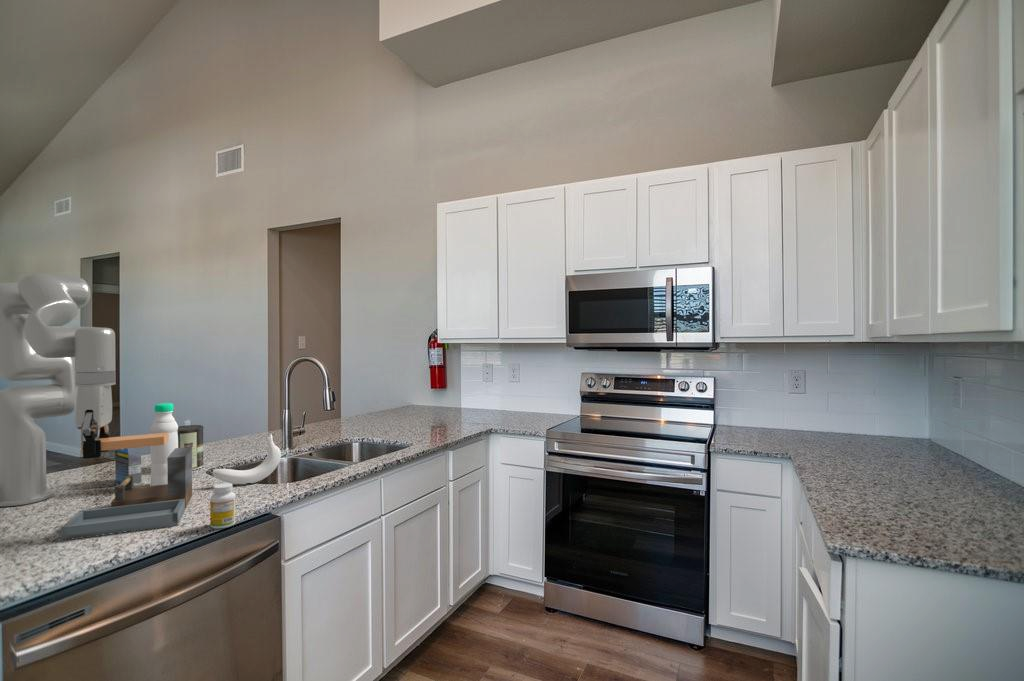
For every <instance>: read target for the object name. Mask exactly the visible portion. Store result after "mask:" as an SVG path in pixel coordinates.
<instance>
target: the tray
mask: <svg viewBox="0 0 1024 681" xmlns="http://www.w3.org/2000/svg"><path fill="white" fill-rule="evenodd" d="M185 511H186V509H185V499H178V500H169V501H160V502H151V503H142V504H133V505H125V506H116V507H111V506H108V507H99V508H90V509H83V510H79V511H77V512H76V513H75V514H74V515H73V516H72V517H71V518H70V519H68V521H66V522H65V523H64V524H63V525H62V526H61V534H60V535H61V541H62V540H64V541H67V540H66V539H71V540H73V539H72V538H79V539H82V538H81V537H87V536H94V537H97V536H96V535H102V534H110V533H117V534H119V533H118V532H124V531H132V532H135V531H134V530H140V531H145V530H146V529H148V530H153V529H154V528H155V529H163V528H169V527H176V526H177V527H178V526H179V523H180V521H181V519H182V517H183V515H184V513H185ZM155 529H154V530H155ZM146 531H147V530H146ZM110 535H111V534H110ZM102 536H103V535H102ZM87 538H88V537H87Z"/></svg>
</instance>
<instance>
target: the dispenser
mask: <svg viewBox="0 0 1024 681" xmlns="http://www.w3.org/2000/svg"><path fill="white" fill-rule="evenodd" d="M167 466H168V484H165V485H156V486H151V485H148V486H147V485H145V486H137V487H134V484H133V476H126V477H125V480H124V481H123V482H122V483H120V484H117V485H116V486H115V487H114V498H113V499H112V500H111V502H110V507H116V506H125V505H133V504H142V503H151V502H160V501H169V500H178V499H185V510H186V509H187V507H188V505H189V503H190V501H191V499H192V497H193V471H192V447H185V448H175V449H174V450H173V452H172V453H171V454H170V455H169V456H168V458H167Z"/></svg>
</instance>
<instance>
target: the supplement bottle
mask: <svg viewBox="0 0 1024 681" xmlns="http://www.w3.org/2000/svg"><path fill="white" fill-rule="evenodd" d="M213 493H214V494H212V495H211V496H210V499H209V501H210V502H209V504H210V505H209V507H210V509H209V512H210V513H209V514H210V516H209V517H210V522H209V524H210V527H211V528H212V529H225V528H229V527H232V526H234V525H235V524H236V521H237V512H236V511H237V510H236V509H237V508H236V507H237V503H236V501H237V500H236V493H235V492H234V491H233V483H229V482H222V483H217V484H214V485H213Z"/></svg>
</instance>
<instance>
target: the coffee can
mask: <svg viewBox="0 0 1024 681" xmlns="http://www.w3.org/2000/svg"><path fill="white" fill-rule="evenodd" d="M177 433H178V448H185V447H192V470H194V471H197V470H196V469H198V470H200V469H199V468H201V469H203V468H204V466H205V465H204V425H201V424H200V425H199V424H192V425H190V424H188V425H178V430H177ZM202 467H203V468H202Z"/></svg>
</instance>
